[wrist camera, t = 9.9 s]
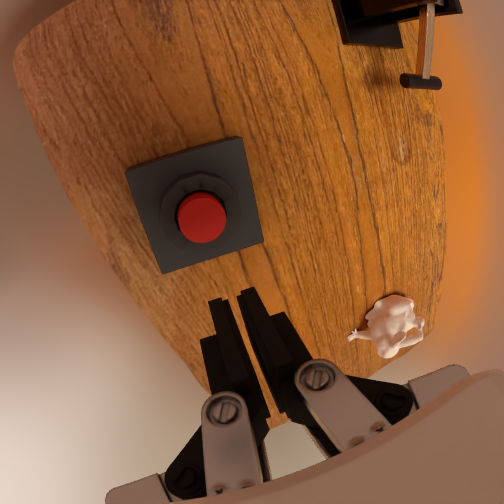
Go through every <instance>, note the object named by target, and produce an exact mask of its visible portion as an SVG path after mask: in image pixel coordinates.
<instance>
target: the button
mask: <svg viewBox="0 0 504 504" xmlns="http://www.w3.org/2000/svg"><path fill="white" fill-rule="evenodd" d="M178 220H179V227H180V230H181V232H182V233H183V235H184V236H185V237H186V238H188V239H189V240H191V241H193V242H197V243H206V242H209V241H212V240H214V239H215V238H217V237H218V236H219V235H220V234H221V233H222V231H223V229H224V227H225V224H226V214H225V211H224V209H223V207H222V206H221V204H220V202H219V201H218V200H217V199H216V198H215V197H214V196H213V195H211V194H208V193H204V192H199V193H194V194H191V195H190V196H188V197H187V198H185V199H184V200H183V202H182V203H181V205H180V207H179V210H178Z"/></svg>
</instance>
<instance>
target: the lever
mask: <svg viewBox="0 0 504 504" xmlns="http://www.w3.org/2000/svg"><path fill="white" fill-rule="evenodd" d="M437 1H438V2H434V3H429V4H424V5H419V38H418V53H417V64H416V74H408V73H403V74H401V75H400V78H399V80H400V84H401V85H402V87H404V88H412V89H430V90H439V89H441V87H442V82H441V80H440V79H439V78H438V77H435V76H430V70H431V61H432V50H433V37H434V16H435V4H437V5H441V6H444V0H437Z"/></svg>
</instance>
